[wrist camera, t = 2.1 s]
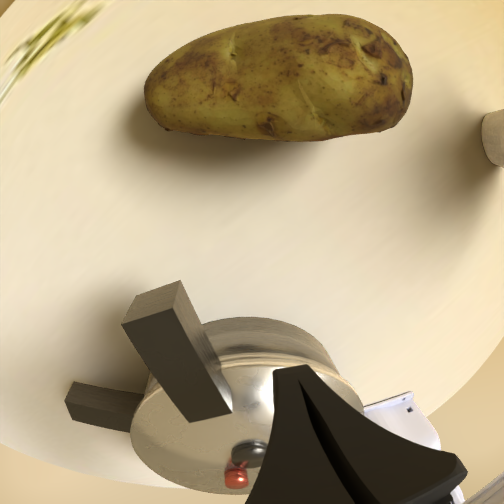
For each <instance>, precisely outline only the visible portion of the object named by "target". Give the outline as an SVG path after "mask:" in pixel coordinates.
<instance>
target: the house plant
mask: <svg viewBox="0 0 504 504" xmlns="http://www.w3.org/2000/svg"><path fill="white" fill-rule="evenodd" d="M481 136H482V143H483V147H484V150H485V153H486V155H487V157H488V158H489V160H490V161H491V162H492V163H493V164H495V165H498V166H501V167H503V168H504V109H503V110H499V111H495V112H492V113H489V114H486V116H485V117H484V119H483V122H482V128H481Z"/></svg>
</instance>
